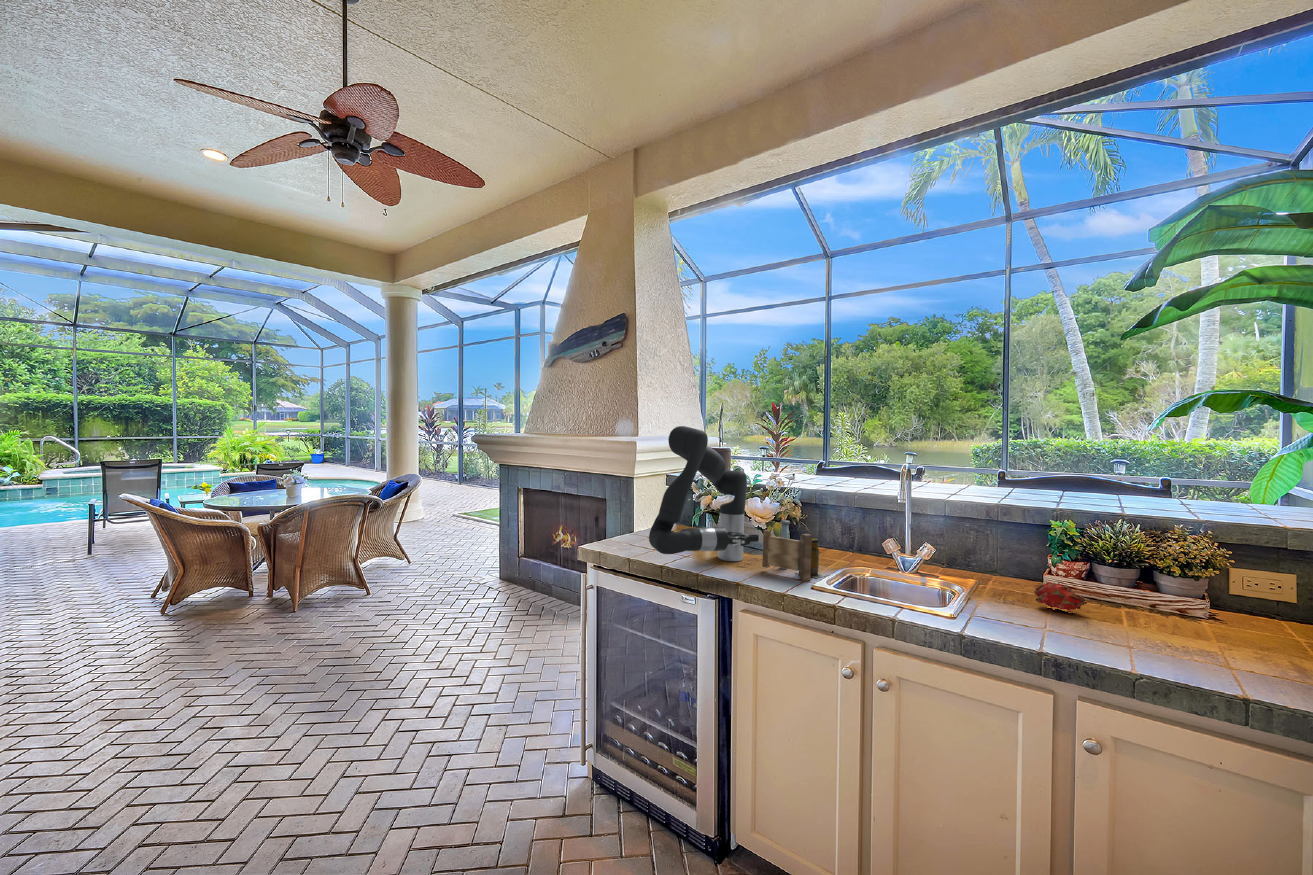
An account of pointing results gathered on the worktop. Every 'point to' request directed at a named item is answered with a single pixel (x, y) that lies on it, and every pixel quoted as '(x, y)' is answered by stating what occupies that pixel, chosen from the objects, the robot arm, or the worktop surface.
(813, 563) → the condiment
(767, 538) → the gate
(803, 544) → the hinge post
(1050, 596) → the dragon fruit
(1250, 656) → the worktop surface
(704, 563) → the worktop surface
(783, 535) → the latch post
